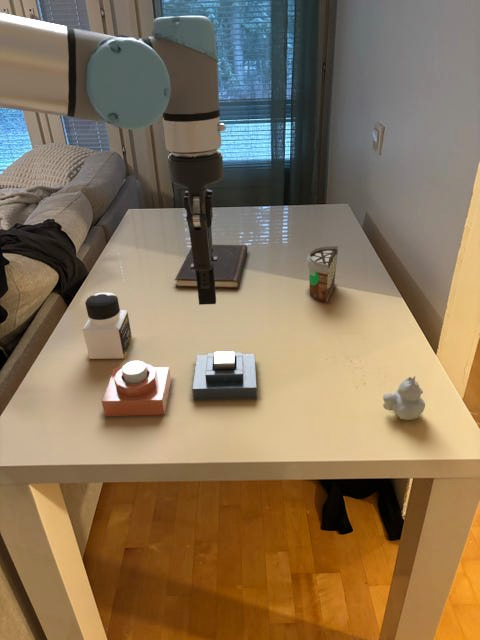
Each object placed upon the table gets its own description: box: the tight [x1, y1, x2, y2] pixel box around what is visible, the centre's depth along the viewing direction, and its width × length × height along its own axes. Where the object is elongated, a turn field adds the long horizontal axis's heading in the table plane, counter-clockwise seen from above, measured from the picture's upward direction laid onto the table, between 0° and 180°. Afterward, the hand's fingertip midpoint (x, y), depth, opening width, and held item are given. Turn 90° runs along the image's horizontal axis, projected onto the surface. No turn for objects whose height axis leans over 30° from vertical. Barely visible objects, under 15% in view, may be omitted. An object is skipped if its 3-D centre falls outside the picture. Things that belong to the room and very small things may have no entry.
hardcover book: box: [174, 244, 248, 290], centre depth 126 cm, size 16×23×2 cm
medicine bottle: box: [82, 291, 133, 360], centre depth 92 cm, size 7×7×12 cm
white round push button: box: [121, 359, 148, 384], centre depth 79 cm, size 4×4×2 cm
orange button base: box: [101, 362, 172, 417], centre depth 80 cm, size 10×9×5 cm
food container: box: [305, 245, 339, 303], centre depth 111 cm, size 12×6×10 cm, turn 159°
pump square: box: [214, 350, 236, 371], centre depth 83 cm, size 4×4×2 cm
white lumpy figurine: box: [382, 375, 426, 421], centre depth 74 cm, size 5×7×8 cm
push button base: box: [191, 352, 258, 401], centre depth 84 cm, size 11×10×4 cm
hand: (207, 302), depth 76 cm, fingers closed
